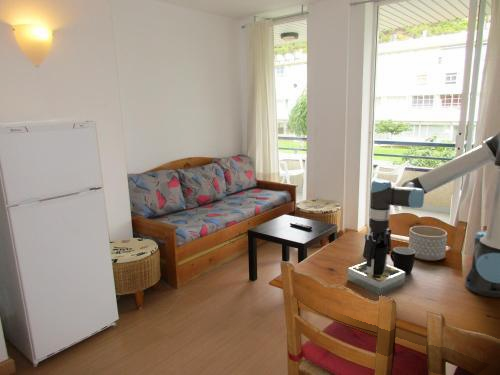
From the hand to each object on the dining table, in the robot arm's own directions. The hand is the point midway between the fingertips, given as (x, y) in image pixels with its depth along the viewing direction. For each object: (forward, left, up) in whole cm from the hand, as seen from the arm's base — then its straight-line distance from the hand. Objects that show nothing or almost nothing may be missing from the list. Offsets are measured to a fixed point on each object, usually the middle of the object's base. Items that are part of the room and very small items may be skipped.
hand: (376, 270), depth 153 cm
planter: (+4, -43, -5) cm, 44 cm away
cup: (0, 0, -1) cm, 1 cm away
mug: (+1, -18, -5) cm, 19 cm away
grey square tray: (0, 0, -5) cm, 5 cm away
